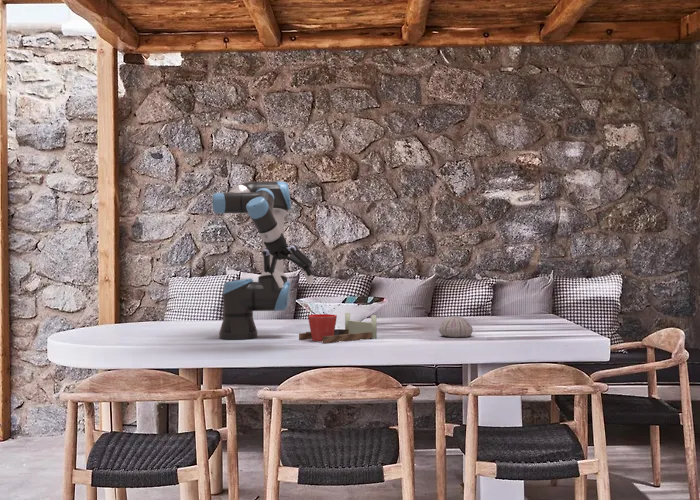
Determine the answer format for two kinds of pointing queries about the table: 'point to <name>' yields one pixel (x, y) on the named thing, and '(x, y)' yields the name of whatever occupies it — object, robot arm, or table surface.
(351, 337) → the walnut trap lane
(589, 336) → the table surface
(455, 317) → the sea urchin shell
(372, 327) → the sage end wall
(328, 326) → the flower pot
